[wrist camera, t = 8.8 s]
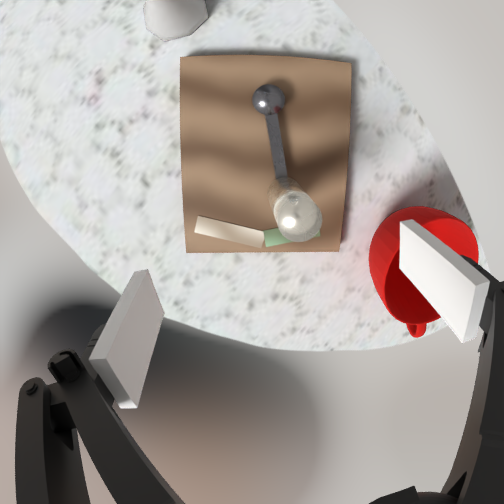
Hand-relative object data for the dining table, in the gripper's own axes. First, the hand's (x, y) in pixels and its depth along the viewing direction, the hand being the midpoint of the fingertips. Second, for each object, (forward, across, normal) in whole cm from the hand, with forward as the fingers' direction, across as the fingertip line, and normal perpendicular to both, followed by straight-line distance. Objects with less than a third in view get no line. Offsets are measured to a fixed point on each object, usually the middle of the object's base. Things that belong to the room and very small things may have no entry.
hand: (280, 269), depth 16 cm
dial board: (+21, +2, +3) cm, 22 cm away
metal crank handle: (+20, +3, +2) cm, 20 cm away
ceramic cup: (+22, +17, -13) cm, 30 cm away
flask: (+22, -5, +21) cm, 31 cm away
